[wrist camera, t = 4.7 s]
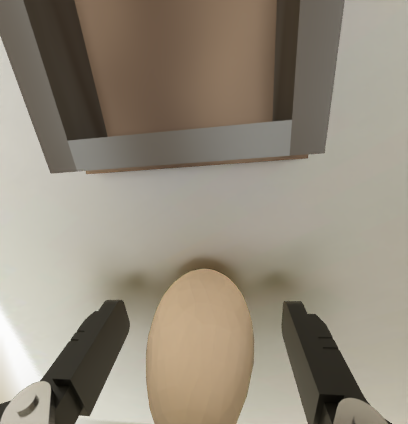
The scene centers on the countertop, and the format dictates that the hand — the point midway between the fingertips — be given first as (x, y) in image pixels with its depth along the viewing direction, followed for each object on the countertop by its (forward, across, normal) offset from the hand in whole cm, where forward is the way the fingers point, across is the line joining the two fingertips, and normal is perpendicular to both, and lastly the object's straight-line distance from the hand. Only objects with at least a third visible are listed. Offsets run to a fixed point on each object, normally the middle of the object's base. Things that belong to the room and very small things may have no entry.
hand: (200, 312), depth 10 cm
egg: (+3, 0, 0) cm, 3 cm away
